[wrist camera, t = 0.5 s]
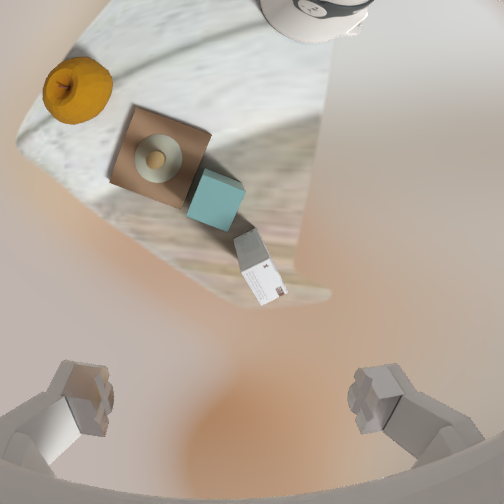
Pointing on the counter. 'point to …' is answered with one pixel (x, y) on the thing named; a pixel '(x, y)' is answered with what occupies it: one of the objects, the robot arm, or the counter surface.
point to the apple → (77, 90)
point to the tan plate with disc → (159, 158)
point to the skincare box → (258, 267)
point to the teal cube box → (216, 200)
